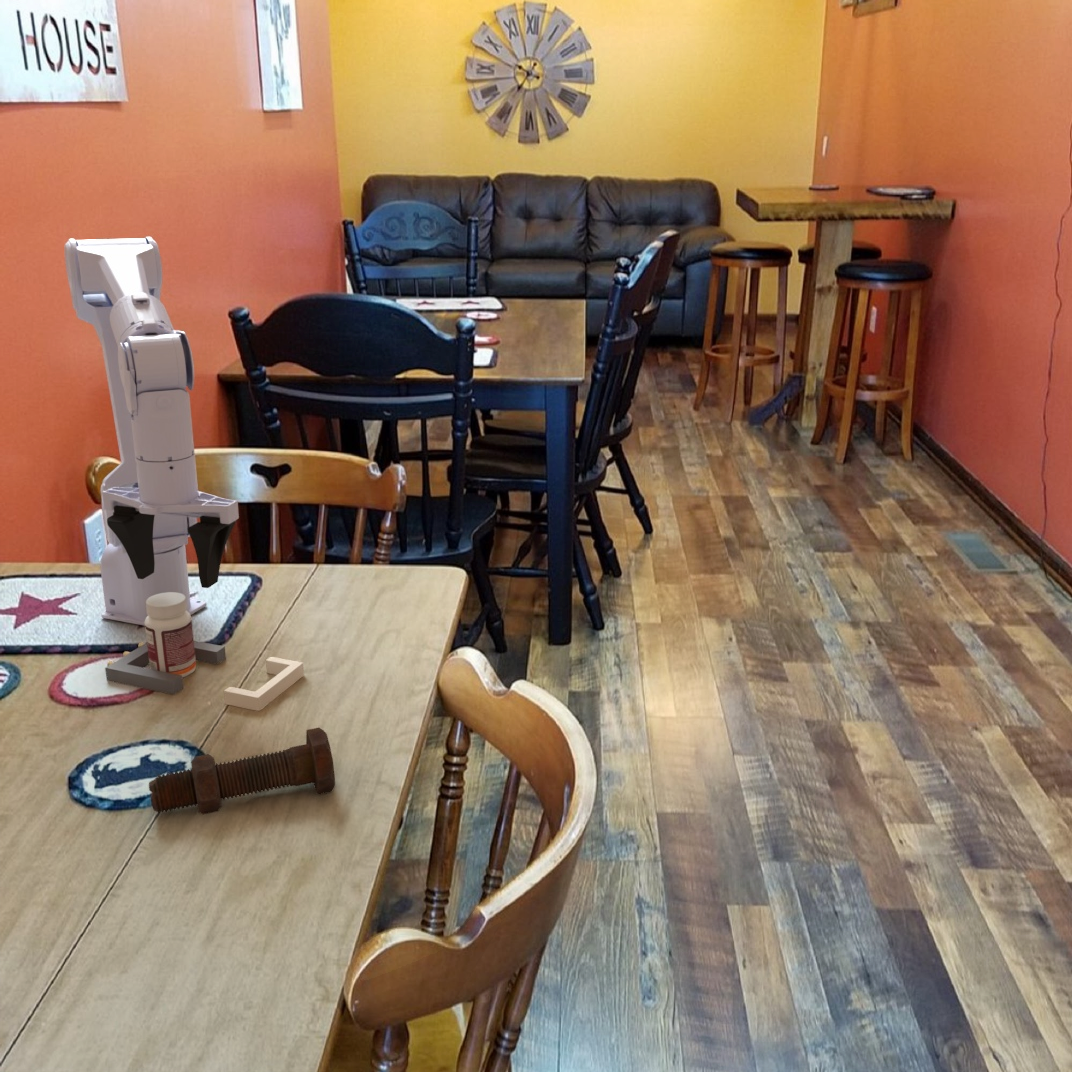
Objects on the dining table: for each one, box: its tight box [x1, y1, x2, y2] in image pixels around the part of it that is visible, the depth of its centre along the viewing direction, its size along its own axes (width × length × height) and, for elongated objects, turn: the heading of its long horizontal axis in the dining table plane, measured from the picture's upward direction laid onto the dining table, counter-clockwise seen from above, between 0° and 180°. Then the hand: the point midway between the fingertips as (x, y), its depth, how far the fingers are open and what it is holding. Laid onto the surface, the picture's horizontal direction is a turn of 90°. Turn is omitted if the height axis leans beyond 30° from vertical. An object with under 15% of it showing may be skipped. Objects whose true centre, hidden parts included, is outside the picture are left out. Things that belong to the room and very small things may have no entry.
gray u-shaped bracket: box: [104, 640, 227, 696], centre depth 120 cm, size 10×9×2 cm
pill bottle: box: [143, 592, 197, 679], centre depth 119 cm, size 5×5×8 cm
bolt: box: [148, 727, 336, 815], centre depth 97 cm, size 6×5×15 cm
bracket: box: [223, 656, 305, 712], centre depth 116 cm, size 4×8×2 cm, turn 160°
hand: (177, 580), depth 117 cm, fingers open, 7 cm apart
